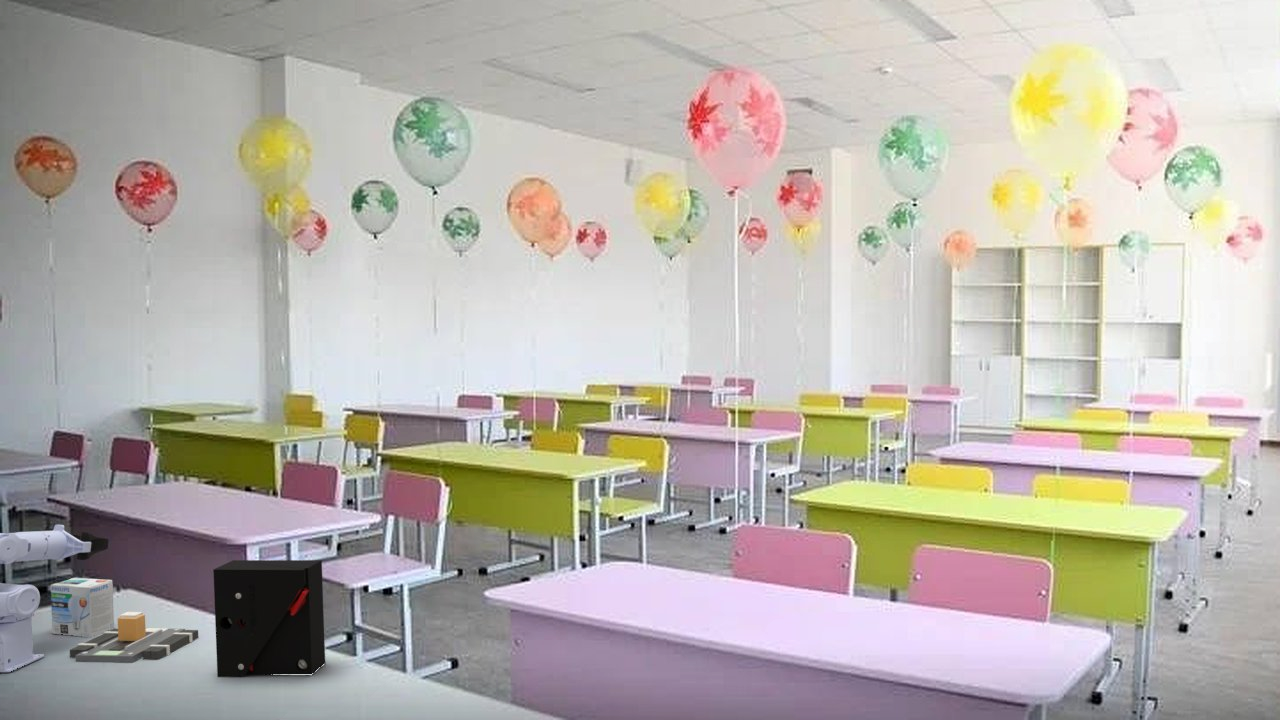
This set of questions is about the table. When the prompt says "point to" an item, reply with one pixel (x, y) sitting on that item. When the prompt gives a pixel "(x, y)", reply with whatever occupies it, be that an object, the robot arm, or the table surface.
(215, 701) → the table surface
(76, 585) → the light bulb box
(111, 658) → the breaker panel
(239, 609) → the electrical component
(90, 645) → the cord bundle
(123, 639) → the breaker knob
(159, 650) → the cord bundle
